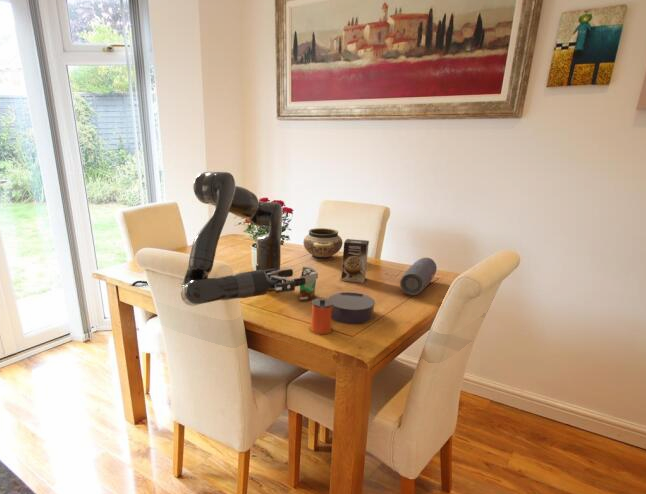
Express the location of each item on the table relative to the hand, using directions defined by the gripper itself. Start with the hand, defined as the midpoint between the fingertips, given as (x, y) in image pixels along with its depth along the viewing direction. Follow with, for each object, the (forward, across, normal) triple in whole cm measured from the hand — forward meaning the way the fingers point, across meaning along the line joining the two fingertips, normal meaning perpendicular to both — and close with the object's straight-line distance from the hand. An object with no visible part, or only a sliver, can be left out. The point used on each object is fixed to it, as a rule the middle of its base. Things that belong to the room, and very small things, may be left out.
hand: (298, 276), depth 140 cm
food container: (+16, +23, +18) cm, 34 cm away
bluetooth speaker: (+58, +14, +18) cm, 63 cm away
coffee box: (+42, +33, +18) cm, 57 cm away
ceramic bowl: (+46, +65, +19) cm, 82 cm away
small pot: (+7, -4, +18) cm, 19 cm away
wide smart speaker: (+22, +3, +18) cm, 28 cm away
